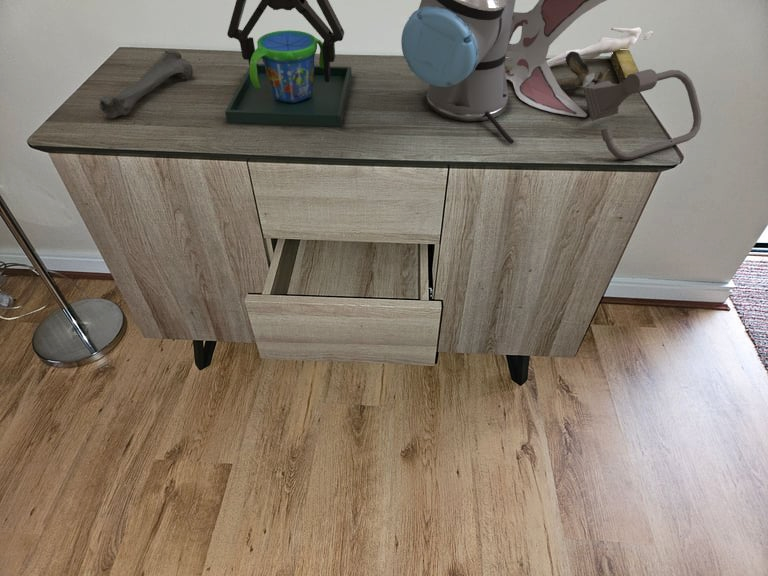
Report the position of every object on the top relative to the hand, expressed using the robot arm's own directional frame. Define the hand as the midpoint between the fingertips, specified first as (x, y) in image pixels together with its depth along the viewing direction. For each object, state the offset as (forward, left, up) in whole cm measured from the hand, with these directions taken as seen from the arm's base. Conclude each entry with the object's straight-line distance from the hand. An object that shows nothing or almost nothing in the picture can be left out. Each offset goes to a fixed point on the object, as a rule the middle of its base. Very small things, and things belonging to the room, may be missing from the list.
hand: (291, 77), depth 97 cm
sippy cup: (0, 0, -4) cm, 4 cm away
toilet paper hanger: (-39, -52, -7) cm, 65 cm away
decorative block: (-14, -66, -1) cm, 67 cm away
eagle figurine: (-17, -52, -4) cm, 55 cm away
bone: (+11, +25, -4) cm, 27 cm away
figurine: (-8, -51, -3) cm, 52 cm away
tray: (0, 0, -4) cm, 4 cm away
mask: (+4, -40, -1) cm, 41 cm away
